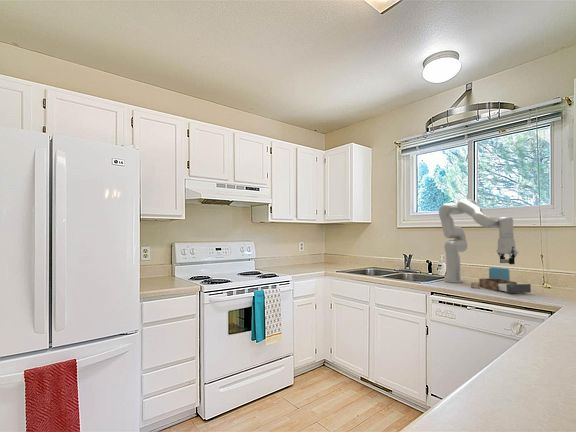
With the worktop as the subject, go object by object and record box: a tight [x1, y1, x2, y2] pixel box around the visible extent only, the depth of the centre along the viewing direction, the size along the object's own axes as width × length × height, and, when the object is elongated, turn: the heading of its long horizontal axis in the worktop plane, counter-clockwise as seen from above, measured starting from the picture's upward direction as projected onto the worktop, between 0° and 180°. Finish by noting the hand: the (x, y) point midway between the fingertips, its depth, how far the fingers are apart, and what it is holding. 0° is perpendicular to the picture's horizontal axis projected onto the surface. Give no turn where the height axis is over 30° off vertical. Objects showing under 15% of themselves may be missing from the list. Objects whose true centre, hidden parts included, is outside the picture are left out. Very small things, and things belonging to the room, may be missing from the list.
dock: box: [478, 278, 518, 292], centre depth 207 cm, size 16×14×6 cm
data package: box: [488, 266, 511, 281], centre depth 224 cm, size 12×4×12 cm, turn 51°
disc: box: [500, 258, 509, 264], centre depth 200 cm, size 7×7×2 cm
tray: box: [498, 283, 532, 294], centre depth 198 cm, size 16×15×5 cm
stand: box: [470, 281, 480, 289], centre depth 210 cm, size 5×5×4 cm
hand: (507, 263), depth 200 cm, fingers closed on disc, 6 cm apart
